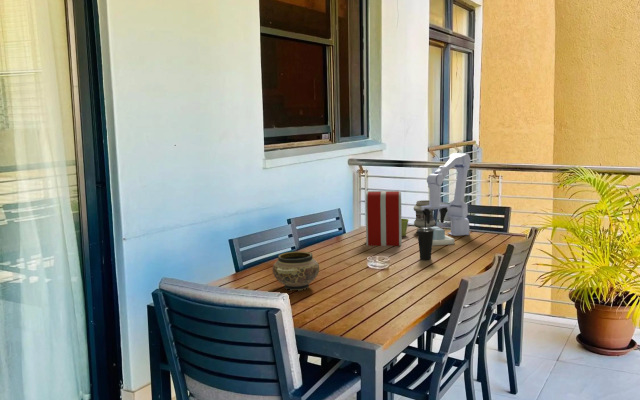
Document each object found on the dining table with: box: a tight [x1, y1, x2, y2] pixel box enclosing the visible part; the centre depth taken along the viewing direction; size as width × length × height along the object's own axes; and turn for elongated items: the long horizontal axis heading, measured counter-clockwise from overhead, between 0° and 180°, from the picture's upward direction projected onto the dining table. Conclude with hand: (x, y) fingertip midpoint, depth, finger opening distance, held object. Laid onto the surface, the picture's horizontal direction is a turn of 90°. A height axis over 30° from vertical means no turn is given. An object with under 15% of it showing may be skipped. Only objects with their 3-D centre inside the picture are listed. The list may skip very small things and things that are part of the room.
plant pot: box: [401, 218, 410, 237], centre depth 326 cm, size 9×9×9 cm
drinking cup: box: [416, 216, 434, 261], centre depth 268 cm, size 8×8×20 cm
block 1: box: [430, 226, 441, 240], centre depth 309 cm, size 4×4×6 cm
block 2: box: [434, 228, 446, 240], centre depth 303 cm, size 4×4×6 cm
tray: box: [432, 234, 455, 247], centre depth 306 cm, size 12×15×2 cm
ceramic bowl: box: [272, 251, 320, 291], centre depth 228 cm, size 24×18×15 cm
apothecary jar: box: [413, 199, 437, 235], centre depth 330 cm, size 12×12×18 cm
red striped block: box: [365, 190, 403, 247], centre depth 307 cm, size 16×18×27 cm
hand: (435, 223), depth 308 cm, fingers open, 7 cm apart
